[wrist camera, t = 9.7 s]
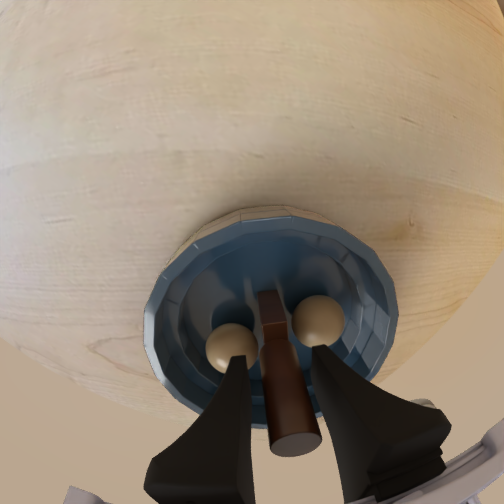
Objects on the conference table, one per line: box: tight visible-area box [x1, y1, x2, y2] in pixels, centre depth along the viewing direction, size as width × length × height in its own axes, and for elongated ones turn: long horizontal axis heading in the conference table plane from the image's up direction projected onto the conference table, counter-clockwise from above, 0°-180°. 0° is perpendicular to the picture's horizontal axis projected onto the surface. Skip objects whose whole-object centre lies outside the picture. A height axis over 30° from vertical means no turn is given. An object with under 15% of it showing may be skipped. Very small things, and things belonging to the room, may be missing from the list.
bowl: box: [143, 205, 399, 429], centre depth 15 cm, size 13×13×4 cm
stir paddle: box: [257, 290, 322, 457], centre depth 12 cm, size 4×2×9 cm, turn 7°
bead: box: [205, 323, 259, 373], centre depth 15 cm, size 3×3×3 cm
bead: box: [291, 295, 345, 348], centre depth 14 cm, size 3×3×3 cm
